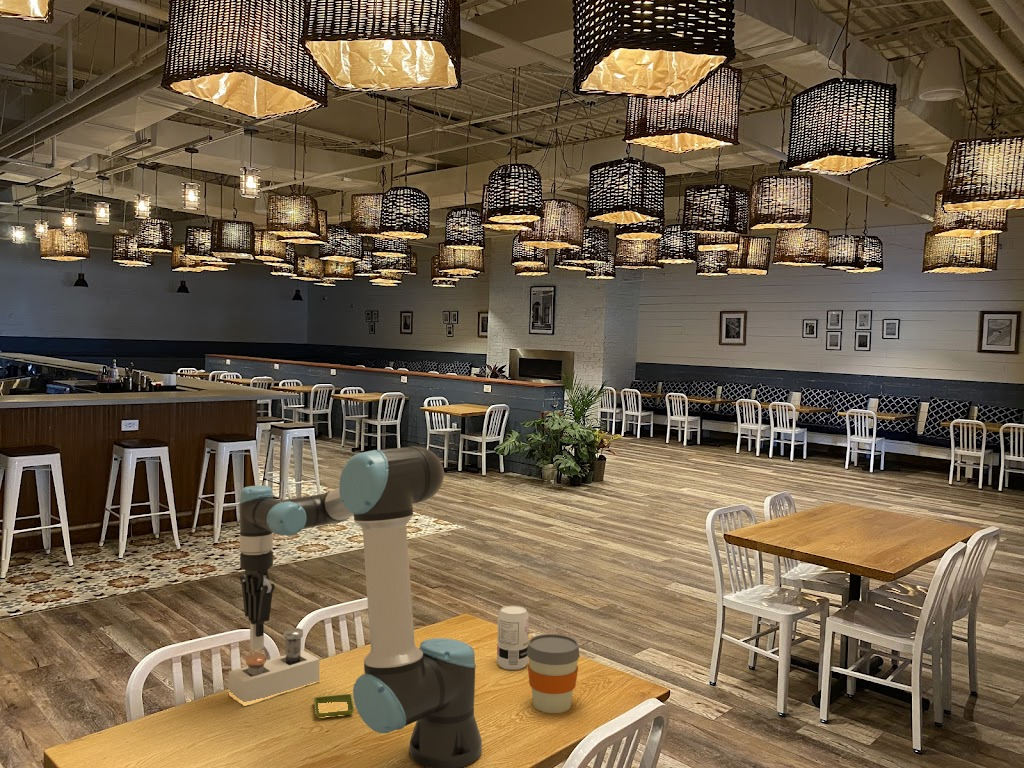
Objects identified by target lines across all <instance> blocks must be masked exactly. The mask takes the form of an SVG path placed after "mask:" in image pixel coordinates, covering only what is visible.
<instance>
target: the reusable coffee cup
mask: <svg viewBox="0 0 1024 768" xmlns="http://www.w3.org/2000/svg"><path fill="white" fill-rule="evenodd" d="M579 645H580V644H579V642H578V640H576V639H575V638H573V637H570V636H568V635H564V634H557V633H545V634H538V635H534V636H533V637H531V638H530V639H528V649H527V656H528V663H527V672H528V681H529V686H530V687H531V694H532V705H533V707H534V708H535V709H536V710H538V711H539V712H541V713H546V714H562V713H564V712H567V711H569V710H570V709H571V705H572V700H573V699H572V698H573V693H574V689H576V688H575V687H576V685H577V679H578V671H579V665H578V661H579V658H580V646H579Z"/></svg>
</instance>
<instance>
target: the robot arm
mask: <svg viewBox="0 0 1024 768" xmlns="http://www.w3.org/2000/svg"><path fill="white" fill-rule="evenodd" d="M444 474H445V472H444V466H443V464H442V461H441V460H440V458H439V457H438V456H437V454H436V453H434V452H433V451H431V450H430V449H427V448H426V447H422V446H414V445H413V446H406V447H396V448H385V449H373V450H368V451H364V452H360V453H356V454H355V455H353V456H351V457H350V458H349V459H348V460H347V462H346V464H345V465H344V466H343V468H342V470H341V473H340V476H339V484H338V487H336V488H334V489H332V490H329V491H326V492H322V493H319V494H313V495H307V496H300V497H293V498H292V497H291V498H287V499H277V498H274V493H273V488H272V487H271V486H270V485H269V486H268V485H250V486H245V487H243V488H242V489H241V490H240V493H239V497H240V498H239V504H238V505H239V551H241V553H240V554H239V566H240V569H241V570H244V574H242V575H240V576H239V582H240V586H241V592H242V599H243V600H242V602H243V610H244V616H245V618H246V617H248V621H249V623H250V624H249V625H250V626H249V629H250V630H249V631H250V632H249V633H250V637H249V638H250V639H249V649H250V650H251V651H253V652H254V651H257V650H260V649H264V648H265V636H264V635H265V633H264V630H265V629H264V625H265V622H269V621H270V616H271V607H272V599H273V593H274V591H275V588H276V587H275V585H276V584H275V583H270V581H269V579H270V576H269V571H268V570H269V569H270V568H272V567H273V565H274V552H273V548H274V542H273V541H274V534H276V535H279V536H282V537H283V536H287V537H290V536H291V537H293V536H296V535H298V534H299V533H300V532H301V531H302V530H306V529H307V530H308V529H312V528H315V527H322V526H327V525H335V524H339V523H342V522H345V521H347V520H349V519H350V518H351V517H353V521H354V522H355V524H356V525H358V526H359V527H361V529H362V539H363V554H364V555H363V556H364V567H365V569H364V570H365V581H366V582H365V584H366V585H365V586H366V599H367V612H368V613H367V615H368V625H369V626H368V627H369V642H370V650H369V652H368V654H367V655H366V656H365V657H364V659H363V671H364V674H362V675H359V677H357V679H356V680H355V682H354V684H353V690H352V695H353V696H352V699H353V704H354V705H355V706H354V707H355V708H356V711H357V713H358V715H359V717H360V718H361V720H362V721H363V722H364V724H365V725H366V726H367V727H368V728H369V729H370V730H372V731H373V732H375V733H378V734H389V733H391V732H394V731H399V730H402V729H403V728H404V727H407V726H408V725H410V724H413V723H415V725H414V727H413V730H412V734H411V737H410V738H409V739H410V741H409V755H410V758H411V759H412V761H414V762H415V763H416V764H418V765H420V766H422V767H424V768H464V767H467V766H469V765H471V764H473V763H474V762H475V761H477V760H478V759H479V758H480V757H481V754H482V748H483V745H482V744H483V743H482V741H483V740H482V735H481V733H480V730H479V727H478V723H477V720H476V717H475V689H476V688H475V685H476V657H475V655H476V654H475V650H474V648H473V647H472V646H471V645H469V644H468V643H466V642H465V641H460V640H457V639H452V638H446V637H445V638H442V637H441V638H440V637H438V638H428V639H425V640H423V641H421V642H420V645H419V647H418V646H416V643H415V631H414V629H415V628H414V617H413V616H414V614H413V604H412V603H413V600H412V589H411V588H412V585H411V575H410V574H411V573H410V561H409V560H410V559H409V545H408V544H409V543H408V531H407V525H408V523H409V521H410V520H411V519H412V518H413V516H414V508H413V507H414V506H413V504H417V503H420V502H424V501H427V500H429V499H430V498H433V497H434V496H436V494H437V493H438V492H439V490H440V489H441V487H442V485H443V483H444V477H445V475H444Z"/></svg>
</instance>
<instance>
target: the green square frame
mask: <svg viewBox="0 0 1024 768" xmlns="http://www.w3.org/2000/svg"><path fill="white" fill-rule="evenodd" d="M352 695H353V694H352V693H345V694H343V693H342V694H336V695H335V694H334V695H326V696H325V695H323V696H317V697H316V696H315V697H314V698H313V702H314V704H313V705H314V714H315V715H316V717H317V718H318V717H325V716H338V715H349V716H351V715H352V713H354V710H355V706H354V699H353V696H352ZM327 702H328V703H329V702H331V703H332V702H347V704H348V710H347V711H337V712H328V713H319V711H318V710H319V709H318V703H327Z"/></svg>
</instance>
